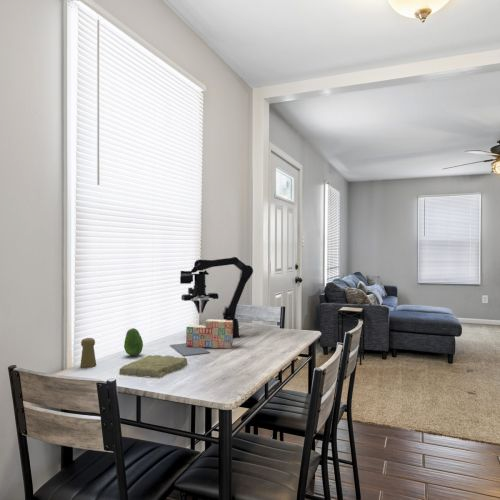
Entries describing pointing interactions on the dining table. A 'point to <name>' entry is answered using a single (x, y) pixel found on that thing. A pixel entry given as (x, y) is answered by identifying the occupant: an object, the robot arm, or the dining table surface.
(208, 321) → the stack of blocks
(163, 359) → the decorative tile
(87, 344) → the cork
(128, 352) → the avocado
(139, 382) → the dining table surface
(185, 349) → the mat
